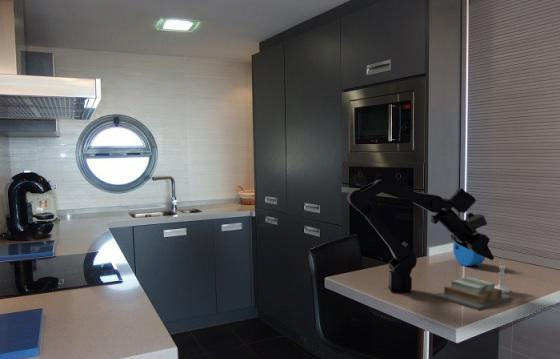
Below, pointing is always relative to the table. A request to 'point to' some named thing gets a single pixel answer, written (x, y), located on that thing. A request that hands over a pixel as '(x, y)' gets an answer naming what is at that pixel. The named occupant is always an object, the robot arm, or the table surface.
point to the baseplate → (472, 304)
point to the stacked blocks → (473, 290)
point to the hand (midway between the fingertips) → (486, 255)
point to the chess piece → (502, 279)
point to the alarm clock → (467, 255)
